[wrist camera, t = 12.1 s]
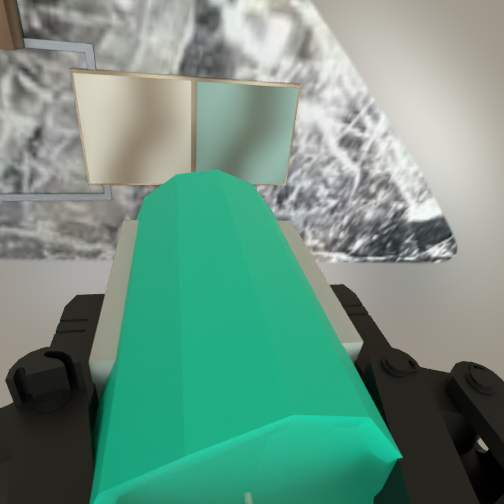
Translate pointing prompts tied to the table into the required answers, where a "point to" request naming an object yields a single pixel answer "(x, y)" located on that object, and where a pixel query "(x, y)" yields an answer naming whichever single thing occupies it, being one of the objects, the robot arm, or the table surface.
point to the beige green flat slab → (182, 126)
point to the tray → (10, 26)
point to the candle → (230, 367)
